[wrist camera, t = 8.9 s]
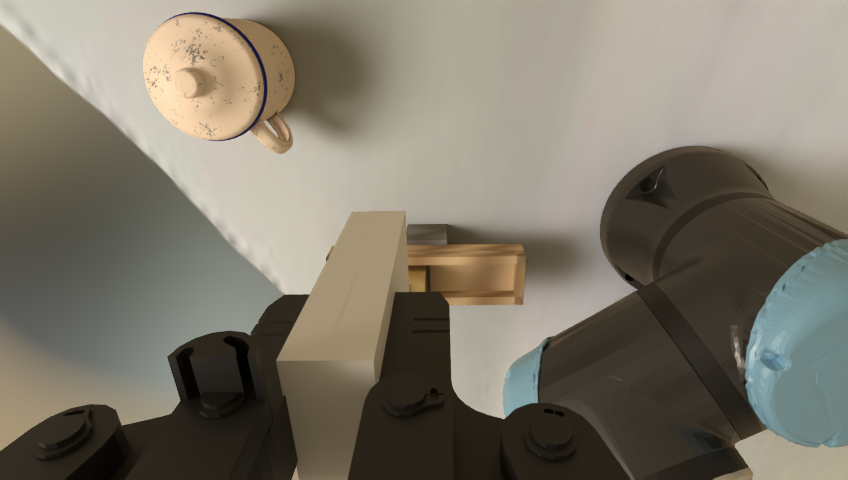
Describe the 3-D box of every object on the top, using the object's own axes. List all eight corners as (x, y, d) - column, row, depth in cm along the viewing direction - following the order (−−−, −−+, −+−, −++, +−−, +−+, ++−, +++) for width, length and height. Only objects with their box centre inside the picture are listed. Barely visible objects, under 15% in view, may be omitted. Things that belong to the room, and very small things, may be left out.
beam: (515, 223, 48) (526, 251, 41) (512, 275, 50) (522, 309, 44) (340, 225, 48) (325, 253, 42) (345, 277, 51) (332, 310, 45)
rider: (426, 262, 43) (424, 293, 38) (427, 289, 45) (425, 322, 39) (383, 263, 44) (375, 293, 38) (385, 289, 45) (378, 322, 40)
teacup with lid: (178, 60, 42) (89, 69, 32) (248, -7, 40) (178, -23, 29) (270, 165, 46) (218, 204, 35) (339, 109, 44) (306, 133, 33)
